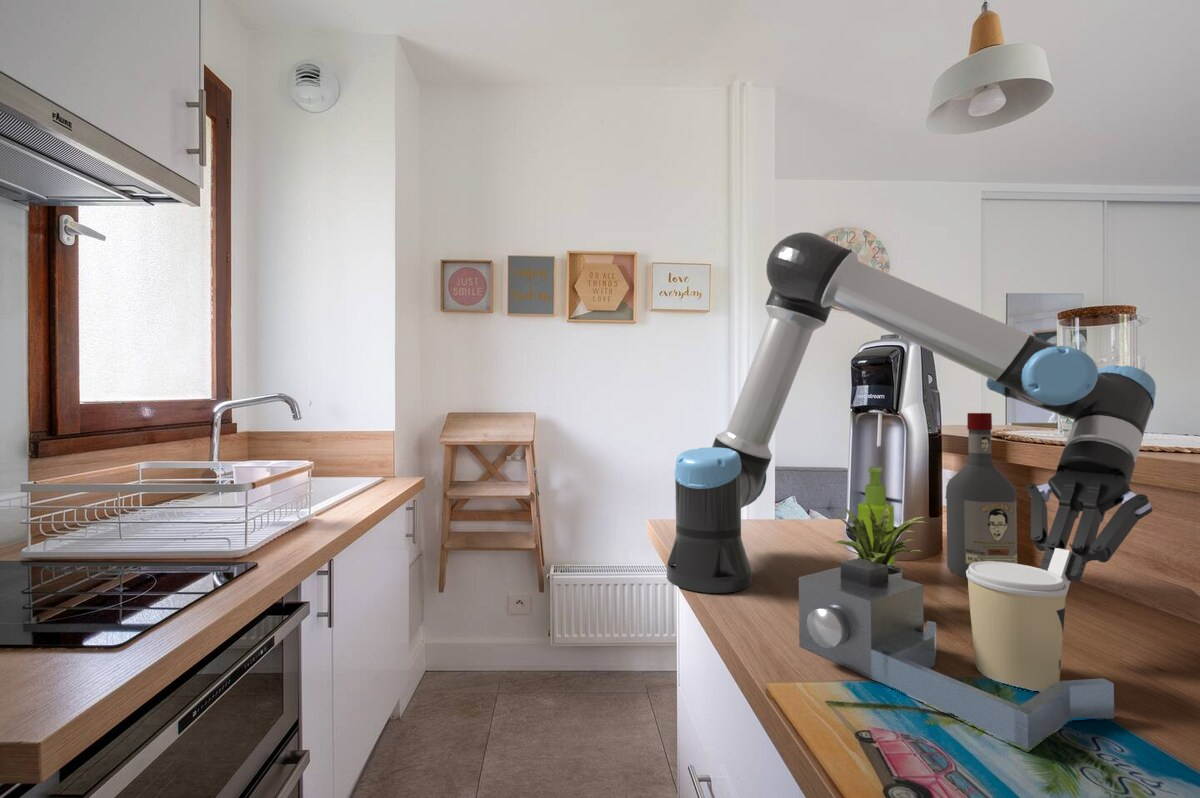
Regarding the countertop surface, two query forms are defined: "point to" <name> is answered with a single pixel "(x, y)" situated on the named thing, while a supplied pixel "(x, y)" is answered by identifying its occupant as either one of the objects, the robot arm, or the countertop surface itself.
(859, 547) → the house plant
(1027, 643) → the coffee cup
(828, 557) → the countertop surface
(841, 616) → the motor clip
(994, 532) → the liquor
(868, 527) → the soap dispenser
